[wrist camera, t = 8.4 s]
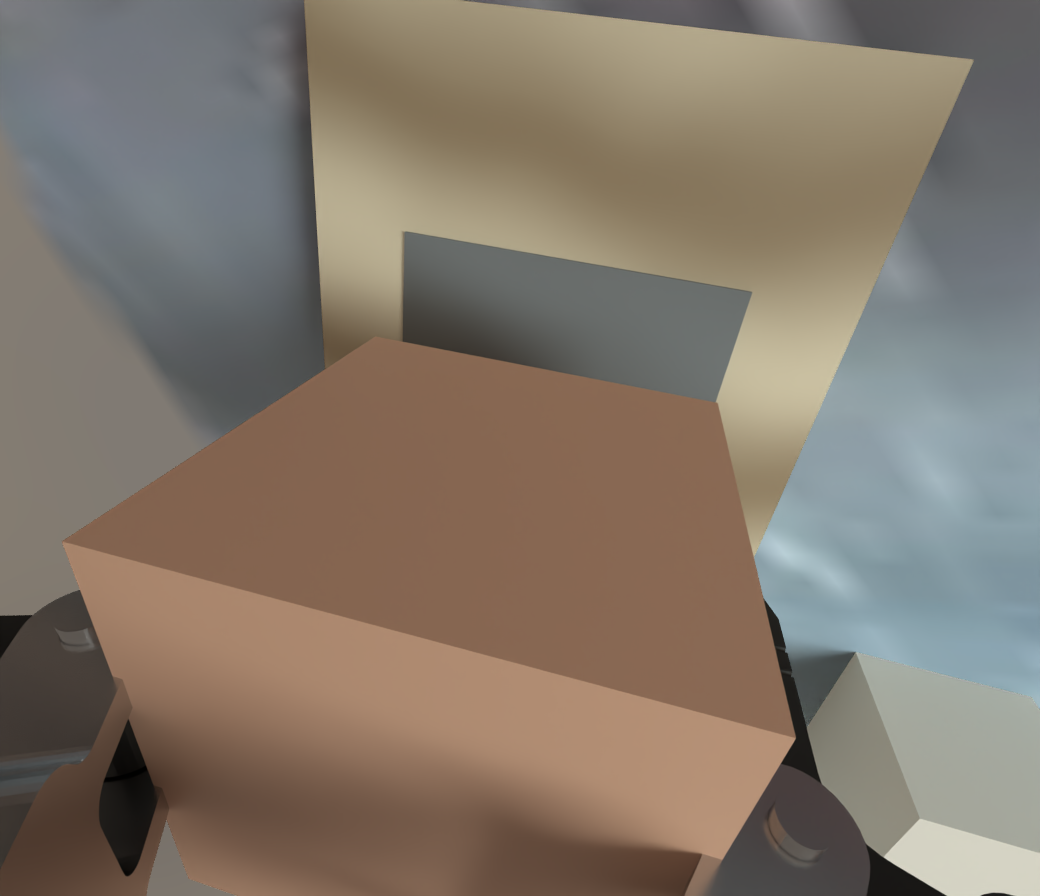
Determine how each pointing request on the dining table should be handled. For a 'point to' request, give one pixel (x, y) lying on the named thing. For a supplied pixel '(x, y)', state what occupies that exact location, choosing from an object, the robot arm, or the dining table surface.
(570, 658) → the terracotta cube
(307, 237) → the dining table surface
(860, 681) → the white cube
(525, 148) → the beige rectangular frame
